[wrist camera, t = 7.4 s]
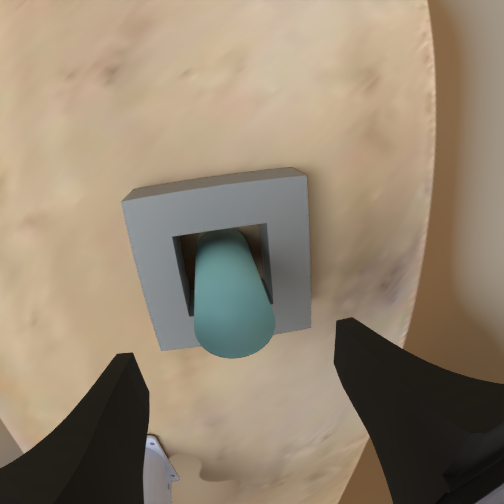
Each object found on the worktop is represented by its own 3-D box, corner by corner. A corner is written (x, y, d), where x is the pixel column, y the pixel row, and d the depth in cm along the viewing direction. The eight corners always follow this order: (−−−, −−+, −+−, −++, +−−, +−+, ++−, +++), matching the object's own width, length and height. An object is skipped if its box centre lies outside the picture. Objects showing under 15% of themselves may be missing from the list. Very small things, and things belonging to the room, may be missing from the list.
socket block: (297, 302, 22) (310, 327, 19) (164, 323, 21) (161, 351, 18) (290, 167, 18) (306, 175, 16) (133, 189, 17) (121, 201, 15)
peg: (250, 271, 21) (276, 352, 13) (199, 277, 20) (201, 362, 13) (245, 223, 19) (273, 286, 12) (192, 229, 19) (187, 297, 12)
